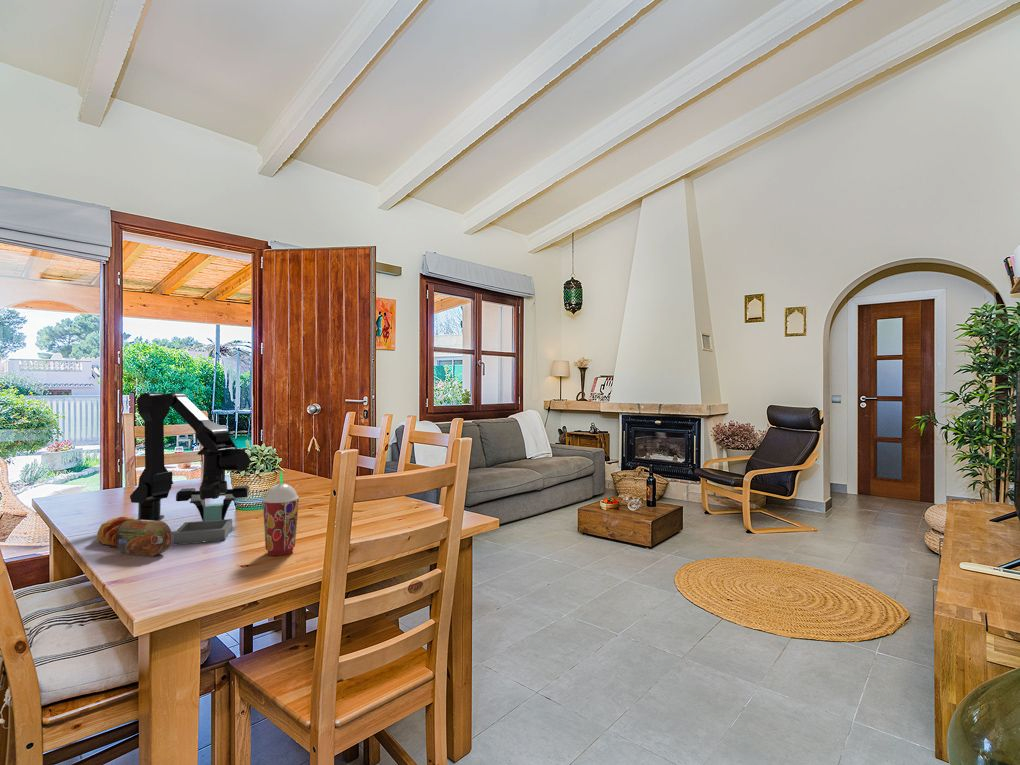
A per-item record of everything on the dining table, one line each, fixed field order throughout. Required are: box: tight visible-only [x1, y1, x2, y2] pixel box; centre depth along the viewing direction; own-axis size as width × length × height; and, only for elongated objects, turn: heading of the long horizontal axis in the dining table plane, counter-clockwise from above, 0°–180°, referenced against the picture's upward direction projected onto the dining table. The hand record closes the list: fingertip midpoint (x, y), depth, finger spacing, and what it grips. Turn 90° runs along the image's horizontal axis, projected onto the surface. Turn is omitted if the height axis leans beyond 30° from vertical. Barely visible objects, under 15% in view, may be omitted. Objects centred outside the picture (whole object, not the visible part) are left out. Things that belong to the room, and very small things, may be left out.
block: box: [204, 502, 223, 521], centre depth 156 cm, size 4×4×6 cm
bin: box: [173, 518, 233, 545], centre depth 144 cm, size 12×12×3 cm
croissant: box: [96, 516, 137, 547], centre depth 140 cm, size 21×10×8 cm, turn 43°
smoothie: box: [262, 472, 300, 557], centre depth 131 cm, size 8×8×20 cm
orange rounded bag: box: [115, 518, 172, 557], centre depth 129 cm, size 15×3×8 cm, turn 76°
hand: (213, 521), depth 156 cm, fingers closed on block, 4 cm apart
